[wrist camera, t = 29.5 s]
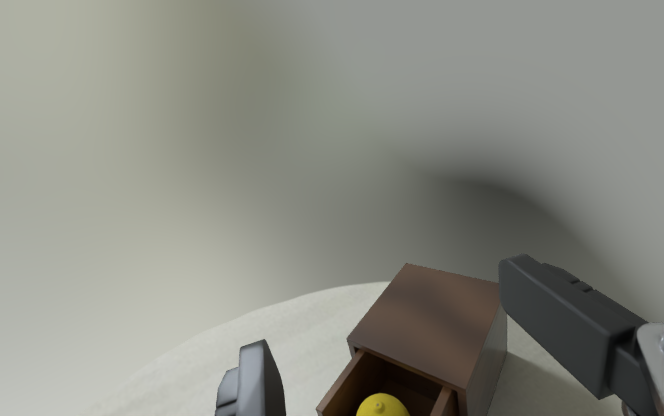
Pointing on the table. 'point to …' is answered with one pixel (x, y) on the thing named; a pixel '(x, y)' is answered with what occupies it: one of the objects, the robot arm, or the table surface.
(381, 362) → the drawer
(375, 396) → the lemon
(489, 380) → the cabinet
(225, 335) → the table surface
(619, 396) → the robot arm
